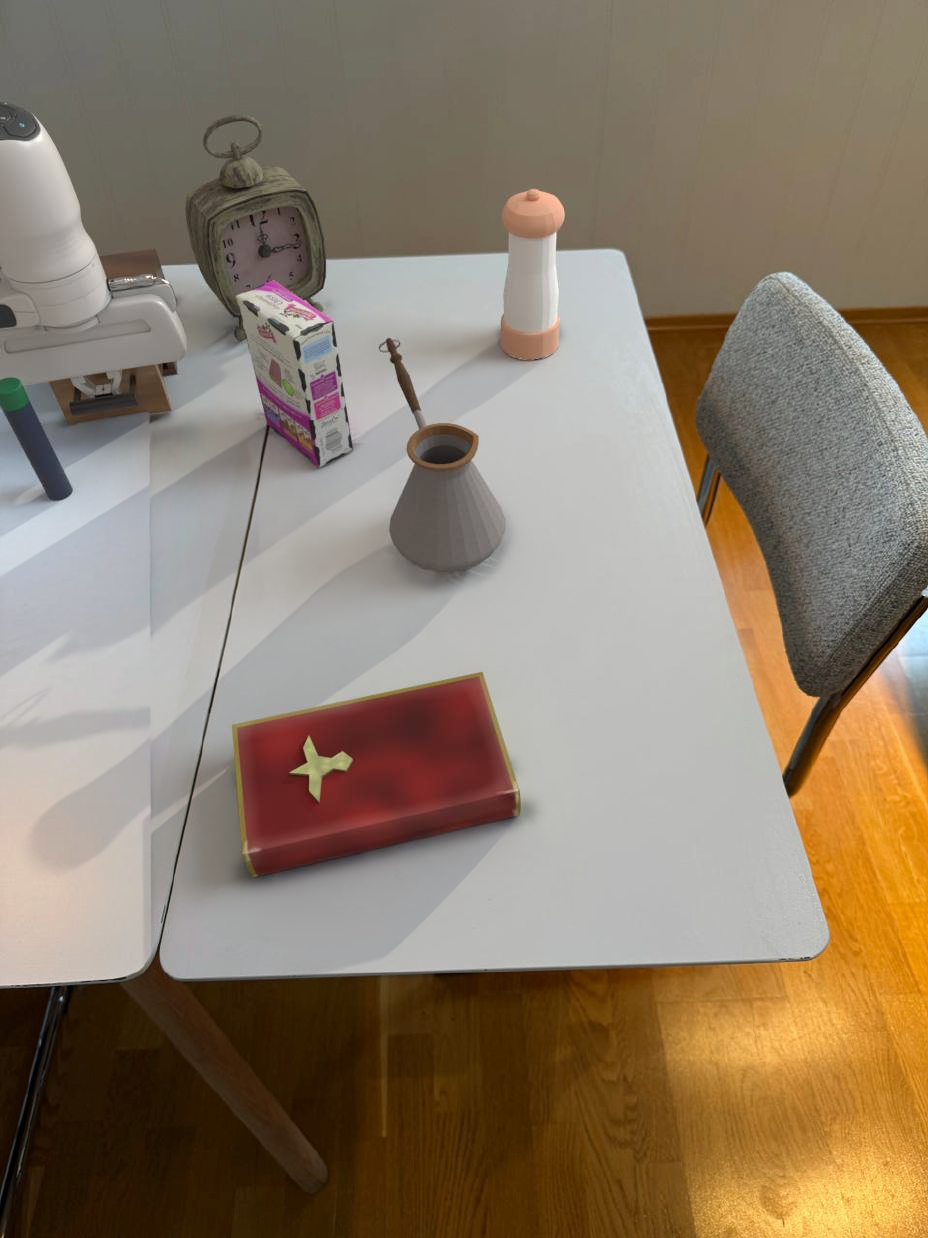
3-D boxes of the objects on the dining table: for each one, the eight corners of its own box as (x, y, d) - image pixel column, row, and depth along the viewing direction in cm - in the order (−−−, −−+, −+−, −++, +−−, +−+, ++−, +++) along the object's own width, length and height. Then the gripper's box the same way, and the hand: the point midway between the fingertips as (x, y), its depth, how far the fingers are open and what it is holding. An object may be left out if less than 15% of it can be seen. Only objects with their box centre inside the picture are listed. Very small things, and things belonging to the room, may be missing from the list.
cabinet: (177, 374, 111) (156, 309, 104) (71, 390, 110) (43, 326, 103) (175, 310, 120) (155, 247, 114) (77, 325, 119) (51, 262, 112)
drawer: (172, 437, 102) (154, 386, 96) (67, 455, 100) (43, 404, 95) (169, 346, 113) (153, 296, 108) (75, 361, 112) (54, 311, 107)
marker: (51, 512, 96) (-11, 396, 84) (53, 496, 97) (-8, 379, 86) (77, 508, 96) (19, 391, 85) (78, 491, 98) (21, 374, 86)
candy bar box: (356, 450, 101) (336, 319, 88) (320, 470, 99) (293, 339, 86) (300, 405, 106) (273, 276, 94) (264, 423, 104) (232, 294, 92)
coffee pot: (523, 567, 88) (526, 447, 77) (413, 601, 86) (399, 482, 74) (448, 439, 101) (441, 320, 90) (351, 465, 99) (330, 347, 87)
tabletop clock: (233, 351, 114) (177, 145, 95) (208, 318, 119) (151, 116, 100) (336, 316, 118) (303, 113, 99) (308, 286, 123) (272, 87, 104)
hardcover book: (520, 819, 71) (520, 793, 68) (254, 881, 68) (242, 858, 65) (483, 698, 78) (482, 669, 75) (242, 750, 76) (230, 722, 73)
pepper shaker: (489, 350, 112) (488, 196, 97) (518, 321, 116) (521, 169, 101) (541, 367, 109) (547, 212, 95) (569, 337, 113) (578, 183, 99)
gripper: (167, 255, 92) (202, 370, 103) (-41, 286, 89) (17, 400, 100) (168, 287, 88) (204, 403, 99) (-49, 319, 86) (12, 435, 96)
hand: (108, 402), depth 99 cm, fingers closed, pressing on drawer
